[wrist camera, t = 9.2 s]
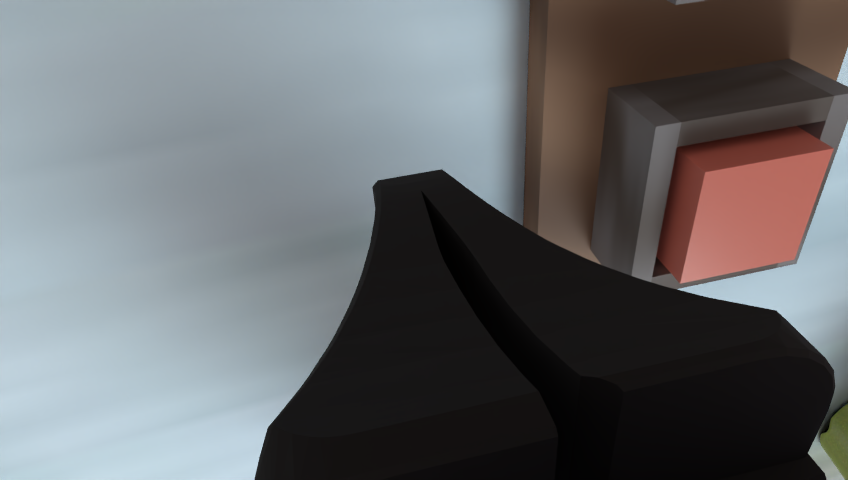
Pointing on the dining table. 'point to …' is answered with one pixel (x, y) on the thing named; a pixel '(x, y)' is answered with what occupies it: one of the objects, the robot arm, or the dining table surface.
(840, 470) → the plant pot
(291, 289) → the dining table surface
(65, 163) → the dining table surface
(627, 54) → the block
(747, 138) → the red button
